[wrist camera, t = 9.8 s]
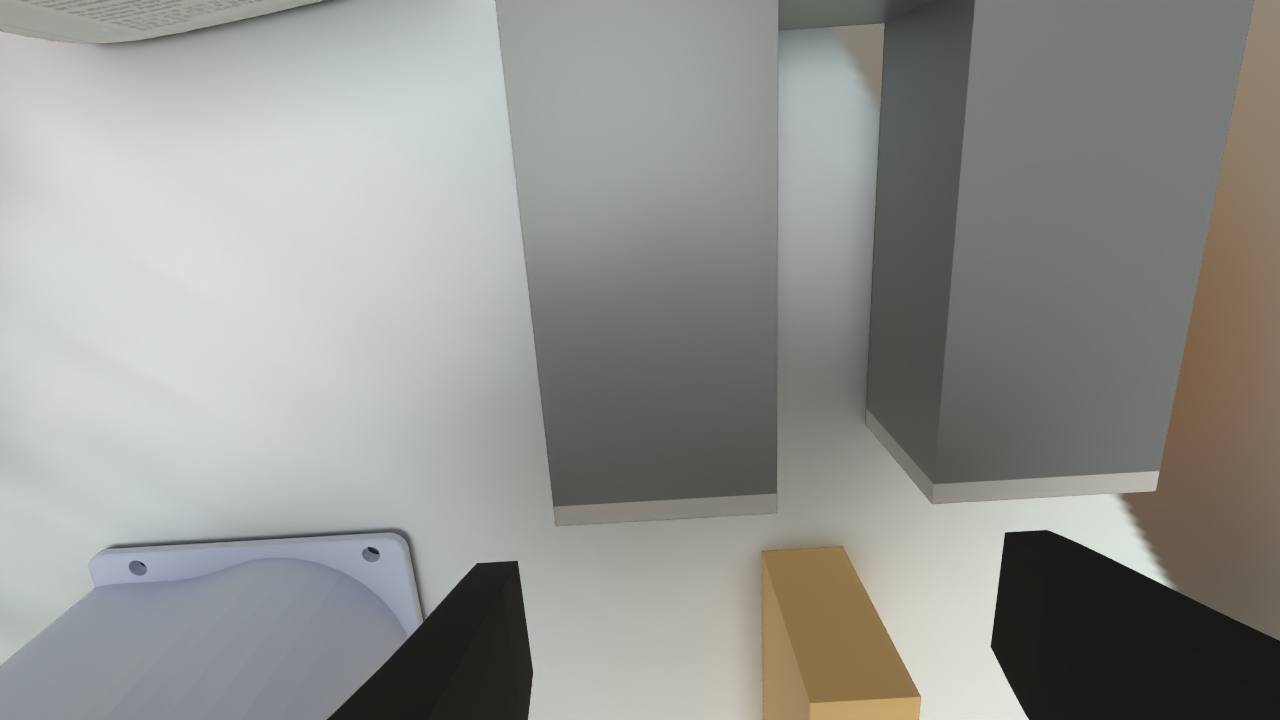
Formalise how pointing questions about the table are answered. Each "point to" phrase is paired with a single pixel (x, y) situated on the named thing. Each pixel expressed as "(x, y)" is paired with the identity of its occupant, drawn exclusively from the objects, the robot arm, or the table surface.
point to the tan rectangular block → (827, 643)
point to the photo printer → (126, 17)
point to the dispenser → (903, 244)
